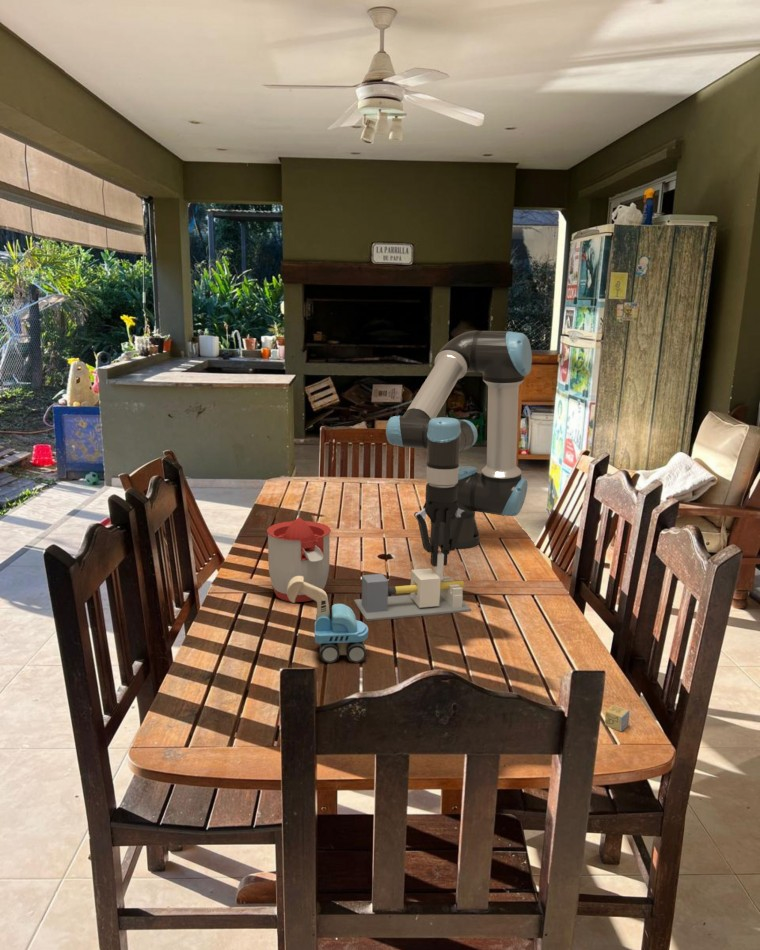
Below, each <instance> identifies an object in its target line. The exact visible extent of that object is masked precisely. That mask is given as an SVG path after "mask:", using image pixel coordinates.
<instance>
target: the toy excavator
mask: <svg viewBox="0 0 760 950" xmlns="http://www.w3.org/2000/svg"><path fill="white" fill-rule="evenodd" d="M299 592H301V593H302V594H304V595H306V596H308V597H310V598H311V599H313V600H312V601H315V602H316V613H315V614H316V615H315V622H314V643H316V644H319V650H318V652H319V657H320V659H321V661H322V662H324V663H325V664H326V663H327V664H332V663H335V662H337V660H338V659H339V657H340V656H346V658H347V659H348V661H349V662H352V663H354V664H359V663H362V662H363V661H365V658H366V656H367V648H366V645H365V641H366V639H368V637H369V627H368V625H367V624H366V623H364V622H363V621H361V620H357V617H356V614H355V612H354V611H353V609H352V608H351V607H350V606H348V605H347V604H344V603H334V604H333V605H332V606H331V613H330V608H329V607H330V605H329V599H328V594H327V592H326V591H325V589H324V590H322V589H320V588H318V587H316V586H313V585H311V584H309V583H306V582H304V577H303V576H295V577H293V578H292V579H291V580H290V581H289V583H288V587H287V597H288V599H289V600H290V601H291V602H290V603H292V602H293V604H294V603H296V602H295V599H296V597H297V595H298V593H299Z"/></svg>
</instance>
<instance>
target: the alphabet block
mask: <svg viewBox="0 0 760 950" xmlns="http://www.w3.org/2000/svg"><path fill="white" fill-rule="evenodd" d="M630 712H631V711H630V709H626V708H624V707H621V706H618V705H617V704H612V705H611V706H610V707H608V708H607V709H606V710H605V716H604V717H605V719H604V721H605V722H604V726H606V727H608V728H610V729H614V730H616V731H618V732H623V731H624V730H625V729H626V728H627V727H628V726H629V721H630Z"/></svg>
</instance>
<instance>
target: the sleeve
mask: <svg viewBox="0 0 760 950" xmlns="http://www.w3.org/2000/svg"><path fill="white" fill-rule="evenodd" d="M410 573H411V574H410V585H417V592H414V593H409V595H410V597H411V598H412V599H413V600H414V602H415V603H416V604H417V605H418V606H419V608H422V607H432V606H439V600H440V583H441V580H440V577H439V576H438V575H437V574H436V573H435V572H434V569H432V568H417V569H411V570H410Z"/></svg>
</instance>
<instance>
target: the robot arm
mask: <svg viewBox="0 0 760 950" xmlns="http://www.w3.org/2000/svg"><path fill="white" fill-rule="evenodd" d="M532 352H533V351H532V347H531V342H530V340H529V338H528V336H527V335H526V334H524V333H523V332H518V331H517V332H516V331H515V332H514V331H508V330H504V331H503V330H470V331H469V330H468V331H465V332H463V333H460V334H459V335H457V336H455V337H454V338H452V339H451V340H450V341H448V342H446V343H445V344H444V345H443V347H442V348H441V349H439V352H438V353H437V355H436V356H435V358H434V366H433V367H432V369H431V371H430V372H429V373H428V375H427V378H425V381H424V382H423V383H422V385H421V386H420V389H419V390H418V392H417V393H416V394H415V396H414V398H413V400H412V401H411V403H410V405H409V406H408V408H407V409H406V411H405V412H404V414H403V415H402V416H401V415H395V416H394V415H393V416H390V418H389V419H388V420H387V423H386V426H385V427H386V428H385V435H386V440H387V441H388V444H390V445H392V446H397V447H403V448H411V449H412V448H413V449H423V450H426V452H427V453H426V472H425V473H426V478H425V482H426V483H427V484H426V485H425V497H424V498H425V502H424V505H423V507H422V509H421V510H420V511H418V512H417V511H416V512H414V513H413V516H414V518H415V520H416V522H417V524H418V528H419V533H420V538H421V545H422V548H423V549H424V550H425V551H426V552H427V553H430V561H429V562H430V566H432V568H433V571H434V572H435V573H436V574H437V575H438V576H439V577H440V581H441V580H443V577H444V568H445V566H447V565H448V555H449V554H450V552H452V551H455V550H456V549H467V548H473V547H477V545H479V544H480V537H481V536H480V532H479V528H478V525H477V521H476V512H477V513H483V514H490V515H497V516H498V515H499V516H502V517H504V516H505V517H506V516H507V517H516V516H517V515H519V514H520V512H521V511H522V508H523V507H524V503H525V500H526V497H527V492H528V486H529V485H528V479H526V478H525V477H522V470H521V468H520V467H518V466H517V456H518V453H517V452H518V424H519V423H518V421H519V419H518V418H519V416H518V415H519V386H520V385H522V383H523V382H524V381H525V377H526V376H527V375H529V374H530V373H531V370H532V364H533V356H532V355H533V354H532ZM467 373H482V381H483V382H484V383H485V385H486V386H487V430H486V431H487V432H486V433H487V434H486V435H487V441H486V465H485V466H484V467H483V468H482V469H481V473H479V471H478V468H477V467H476V466H472V465H461V466H459V465H460V464H459V463H460V454H461V453H464V452H466V451H469V450H470V448H472V447H473V446H474V445H475V444H476V442H477V440H478V434H479V433H478V429H477V428H476V425H474V423H473V422H472V421H470V420H468V419H457V418H454V417H441V416H440V417H438V414H440V412H441V409H442V407H443V406H444V405H445V403H446V401H447V399H448V397H449V396H450V394H451V392H452V391H453V389H454V387H455V386H456V384H457V382H458V381H459V380H460V379H462V378H464V377H465V375H466V374H467ZM426 515H427V516H426ZM427 517H428V519H430V537H429V532H428V531H429V530H428V526H427V523H426V519H427ZM439 547H440V549H439Z"/></svg>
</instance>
